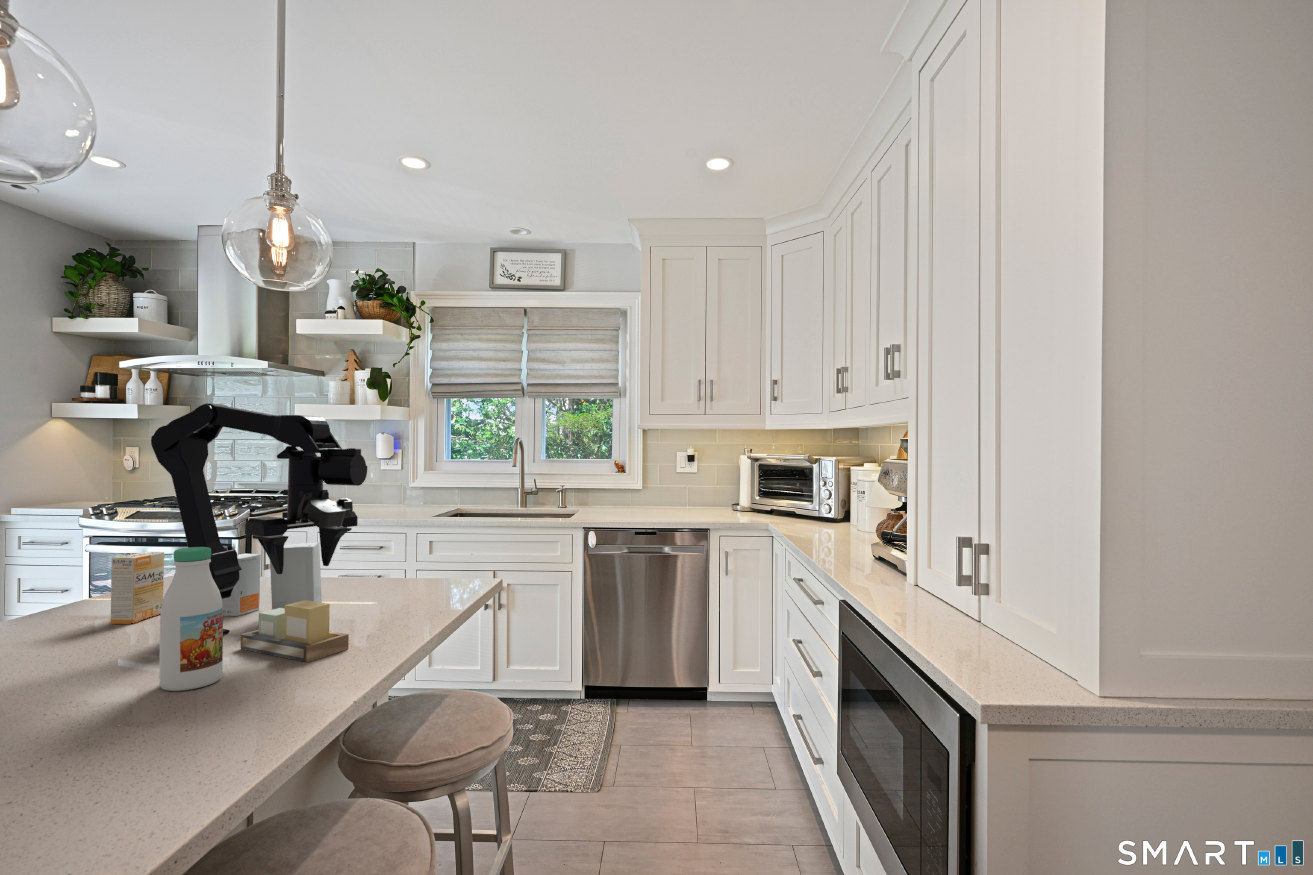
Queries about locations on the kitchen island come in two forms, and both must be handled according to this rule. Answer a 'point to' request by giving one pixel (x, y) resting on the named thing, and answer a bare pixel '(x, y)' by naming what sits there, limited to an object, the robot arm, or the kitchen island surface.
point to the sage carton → (272, 623)
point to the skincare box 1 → (245, 587)
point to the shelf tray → (295, 646)
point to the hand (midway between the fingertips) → (303, 569)
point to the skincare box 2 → (297, 575)
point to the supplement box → (136, 587)
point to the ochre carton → (306, 622)
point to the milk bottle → (191, 624)
